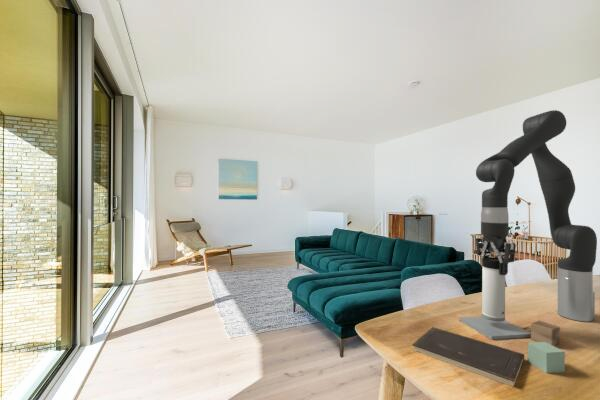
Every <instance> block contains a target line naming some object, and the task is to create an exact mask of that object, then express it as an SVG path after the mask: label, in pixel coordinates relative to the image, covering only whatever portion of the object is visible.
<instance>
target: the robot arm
mask: <svg viewBox="0 0 600 400" xmlns="http://www.w3.org/2000/svg"><path fill="white" fill-rule="evenodd" d="M566 127H567V119H566V116H565V115H564V113H563V112H561V111H560V110H556V109H555V110H553V109H552V110H549V111H545V112H541V113H537V114H536V115H532V116H529V117H527V118H525V119H524V121H523V123H522V132H523V135H521V136H519V137H517V138H515V139H514V140H512V141H511V142H510V143H508V144H507V145H506V146H505V147H503V148H502V149H500V151H499V152H497V153H495V154H493V155H491V156H490V157H487V158H485V159H484V160H483V161H481V162H480V163H479V164H478V166H477V167H476V170H475V175H476V177H477V179H478V180H479V181H480V182H482V183H494V184H493V186H492V188H491V187H490V188H488V189H485V190H483V191H482V193H481V210H480V211H481V212H480V234H481V236H482V237H476V238H475V249H476V250H475V251H476V256H479V257H480V258H481V266H483V258H487V257H491V255H492V254H493V253H494V255H495V257H498V259H499V262H500V263H499V274H500V275H505V276H506V275H508V273H509V270H508V269H509V263H510V264H511V263H514V262H515V257H516V247H517V245H516V243H515V242H508V240H507V237H509V210H508V207H509V206H508V198H509V197H508V196H509V191H510V188H511V186H512V182H513V179H514V176H515V168H516V167H517V166H519V165H520V164H521V163H522V162H523V161H524V160H525V159H526V158H527V157H529V155H531V156H532V159H533V161H534V166H535V169H536V172H537V177H538V182H539V185H540V189H541V191H542V195H543V198H544V202H545V207H546V210H547V214H548V216H547V217H548V222H549V229H550V230H549V231H550V235H551V239H552V242H553V244H555V246H556V247H558V248H560V249H563V250H570V251H569V255H568V256H567V257H565V258H560V259H558V260H557V308H556V309H557V314H558V315H559V316H561V317H563V318H566V319H568V320H569V319H570V320H573V321H578V322H592V321H593V320H596V319H595V317H596V316H595V311H596V309H595V308H596V304H595V300H596V295H595V294H596V293H595V292H594V291H593V289H594V288H593V286H594V285H593V284H594V283H593V282H594V280H593V277H594V275H593V273H594V266H595V264H596V260H597V249H598V248H597V246H598V236H597V233H596V231H595V230H594V229H593V228H592V227H590V226H588V225H587V226H586V225H580V224H578V225H577V224H572V221H571V218H570V214H569V207H570V205H571V202H572V200H573V198H574V195H575V193H576V184H575V180H574V176H573V173H572V171H571V169H570V167H568V166H567V164H566V163H564V162H563V161H561V160H560V159H559V158H557V156H556V155H554V154H553V153H552V152H551V150H550V149H549V148H548V146H547V142H549V141H551V140H552V139H553V138H556V137H557V136H560V135H561V134H562V133H564V131H565V130H566ZM502 257H503V258H504V259H503V258H502ZM481 268H483V267H481Z"/></svg>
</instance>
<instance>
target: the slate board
mask: <svg viewBox="0 0 600 400" xmlns="http://www.w3.org/2000/svg"><path fill="white" fill-rule="evenodd" d="M459 321H460V322H461V323H462V324H465V325H467V326H468V327H470V328H471V329H473V330H475V331H476V332H478V333H480V334H481V335H483V336H485V337H487V338H488V339H490V340H506V339H507V340H508V339H524V338H525V339H526V338H531V331H527V330H526V329H524V328H523V327H520V326H518V325H515V324H513V323H511V322H510V321H508V320H506V319H505V321H502V322H496V321H491V320H488V319H485V318H484V317H483V316H469V317H467V316H465V317H459Z"/></svg>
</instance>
